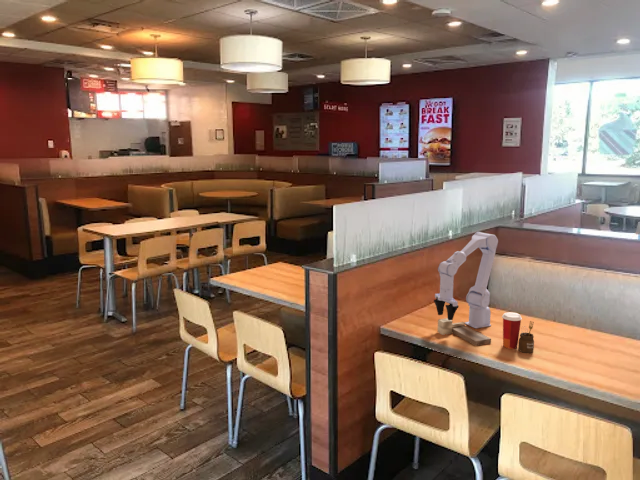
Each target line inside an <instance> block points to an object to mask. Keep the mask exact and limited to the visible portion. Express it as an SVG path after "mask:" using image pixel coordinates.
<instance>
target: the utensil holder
mask: <svg viewBox="0 0 640 480" xmlns="http://www.w3.org/2000/svg"><path fill="white" fill-rule="evenodd" d="M524 328H526V325H525V326H522V329H524ZM528 329H529V332H528ZM528 329H526V332H521V333H519V338H518V345H517V348H518V351H520V352H521V353H524V354H531V353H533V352H534V349H535V340H534V337H535V336H534V334H533V333H531V330H533V329H534V321H532V320H530V321H529V326H528Z"/></svg>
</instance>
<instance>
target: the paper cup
mask: <svg viewBox="0 0 640 480" xmlns="http://www.w3.org/2000/svg"><path fill="white" fill-rule="evenodd" d="M501 318H502V346H503V348H506V349H510V350H515V349H517V348H518V344H519V338H520V329H521V323H522V319H523V318H522V316H521V314H519V313H517V312H512V311H511V312H509V311H507V312H504V313H503V314H502V316H501Z"/></svg>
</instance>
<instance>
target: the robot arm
mask: <svg viewBox="0 0 640 480" xmlns="http://www.w3.org/2000/svg"><path fill="white" fill-rule="evenodd" d="M498 243H499V239H498V237H497V236H496V234H491V233H486V232H481V231H476V232H475V233H474V234H473V235H472V236H471V240H469V242H468V243H467V244H466V245H465V246H464V247H463V248H462V249H461V250H460V251H459V250H457V251H455V252H454V253H453V254H452V255H451V256H450V257H449V258H447V259H446V260H444V261H441V262H440V263H439V265H438V267H437V271H438V273H439V279H440V280H439V293H434V298H435V299H433V302H434V304H435V307H436V311H437V315H438V316H442V315H443V314H444V308H445V309H446V313H447V314H446V315H447V318H448V320H452V321H453V319H454V317H455V314H456V311H457V310H458V308H459V302H458V301H457V300H456V299H455V298H454V282H455V281H454V277H455V275H456V274H457V273H458V270H459V268H460V266H462V265H463V264H464V263H465V262H466V261H467V257H468V256H469V255H470V254H473V252H474V251H475V250H477V249H478V248H479V250H480V251H481V253H482V254H481V255H482V256H481V260H480V263H479V266H478V271H477V276H476V278H475V279H476V280H475V283H474V285H473V286H471V287H469V290H468V293H467V294H466V296H465V300H466V303H467V304H468V306H469V310H468V321H465V322H464V323H465V325H466V326H467V325H468V327H470V328H471V327H472V329H473V328H474V329H480V328H485V327H486V328H487V327H491V326H492V324H491V317H492V316H491V313H492V312H491V309H490V307H489V306H490V302H491V301H490V299H491V298H490V297H491V292H490V291H489V290H488V289H487V288H488V284H489V280H490V276H491V271H492V268H493V264H494V260H495V256H496V252H497V247H498V245H499V244H498Z"/></svg>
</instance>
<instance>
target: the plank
mask: <svg viewBox="0 0 640 480" xmlns="http://www.w3.org/2000/svg"><path fill="white" fill-rule="evenodd" d="M452 334H454V335H455V336H457V337H459V338H461V339H462V338H463V339H462V340H464V341H465V342H468V343H470V344H472V345H474V346H482V345H487V344H491V343H492V338H491V337H489V336H486V335H484V333H481V332H479V331H477V330H475V329H473V328H471V327H470V326H467V325H466V324H465V325H462V326H455V327H452Z"/></svg>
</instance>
